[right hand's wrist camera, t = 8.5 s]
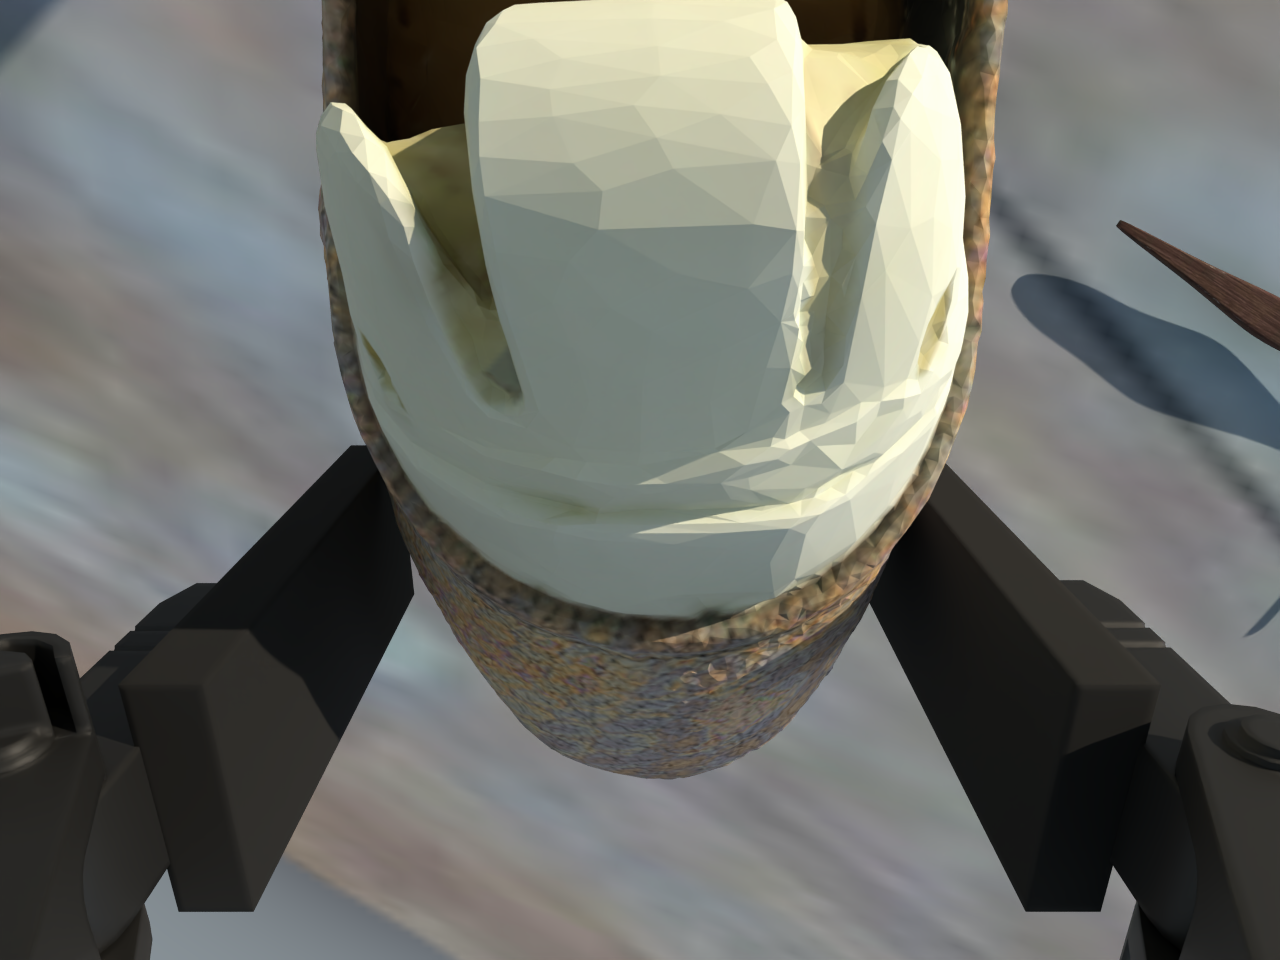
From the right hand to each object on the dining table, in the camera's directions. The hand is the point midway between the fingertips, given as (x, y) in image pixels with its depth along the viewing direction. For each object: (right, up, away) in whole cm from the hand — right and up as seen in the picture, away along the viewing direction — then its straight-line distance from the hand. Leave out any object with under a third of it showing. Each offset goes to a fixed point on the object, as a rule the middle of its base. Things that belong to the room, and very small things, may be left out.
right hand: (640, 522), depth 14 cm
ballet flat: (0, +8, -2) cm, 8 cm away
